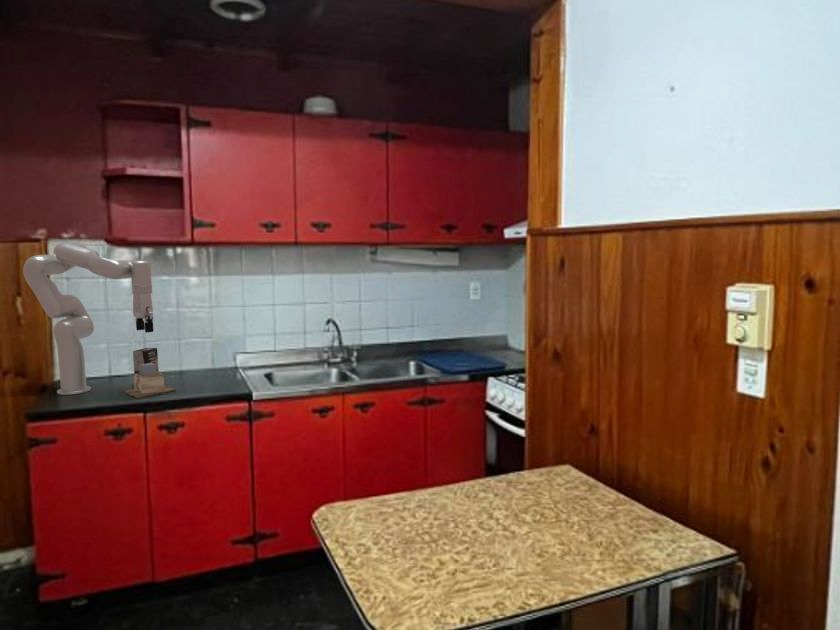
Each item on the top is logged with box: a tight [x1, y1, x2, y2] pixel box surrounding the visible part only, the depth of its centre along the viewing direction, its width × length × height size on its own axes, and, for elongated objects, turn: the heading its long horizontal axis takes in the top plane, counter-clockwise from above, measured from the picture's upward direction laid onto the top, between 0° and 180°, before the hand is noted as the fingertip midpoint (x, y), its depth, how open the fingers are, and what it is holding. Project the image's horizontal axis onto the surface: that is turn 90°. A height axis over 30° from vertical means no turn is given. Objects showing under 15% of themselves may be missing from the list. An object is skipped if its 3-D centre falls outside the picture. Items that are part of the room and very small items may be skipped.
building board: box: [122, 371, 177, 399], centre depth 256 cm, size 16×16×8 cm
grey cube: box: [139, 363, 156, 377], centre depth 255 cm, size 5×5×5 cm
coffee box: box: [132, 347, 160, 375], centre depth 270 cm, size 9×6×16 cm
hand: (144, 331), depth 253 cm, fingers open, 9 cm apart
